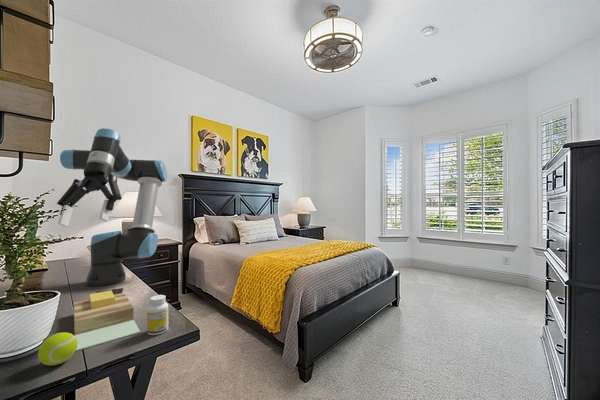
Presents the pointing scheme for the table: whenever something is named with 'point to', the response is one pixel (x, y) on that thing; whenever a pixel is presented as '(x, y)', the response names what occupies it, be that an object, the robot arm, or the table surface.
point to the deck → (101, 314)
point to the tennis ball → (57, 348)
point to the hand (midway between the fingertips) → (83, 222)
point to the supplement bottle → (157, 315)
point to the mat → (106, 334)
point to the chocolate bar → (114, 291)
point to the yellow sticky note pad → (102, 299)
